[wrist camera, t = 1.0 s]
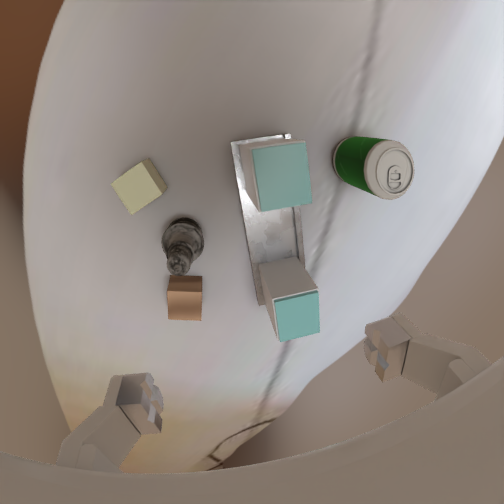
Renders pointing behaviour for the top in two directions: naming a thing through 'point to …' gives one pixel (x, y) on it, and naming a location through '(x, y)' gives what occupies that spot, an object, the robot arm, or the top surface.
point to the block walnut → (184, 297)
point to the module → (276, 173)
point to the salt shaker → (182, 245)
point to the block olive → (139, 186)
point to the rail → (267, 224)
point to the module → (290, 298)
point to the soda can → (375, 166)
